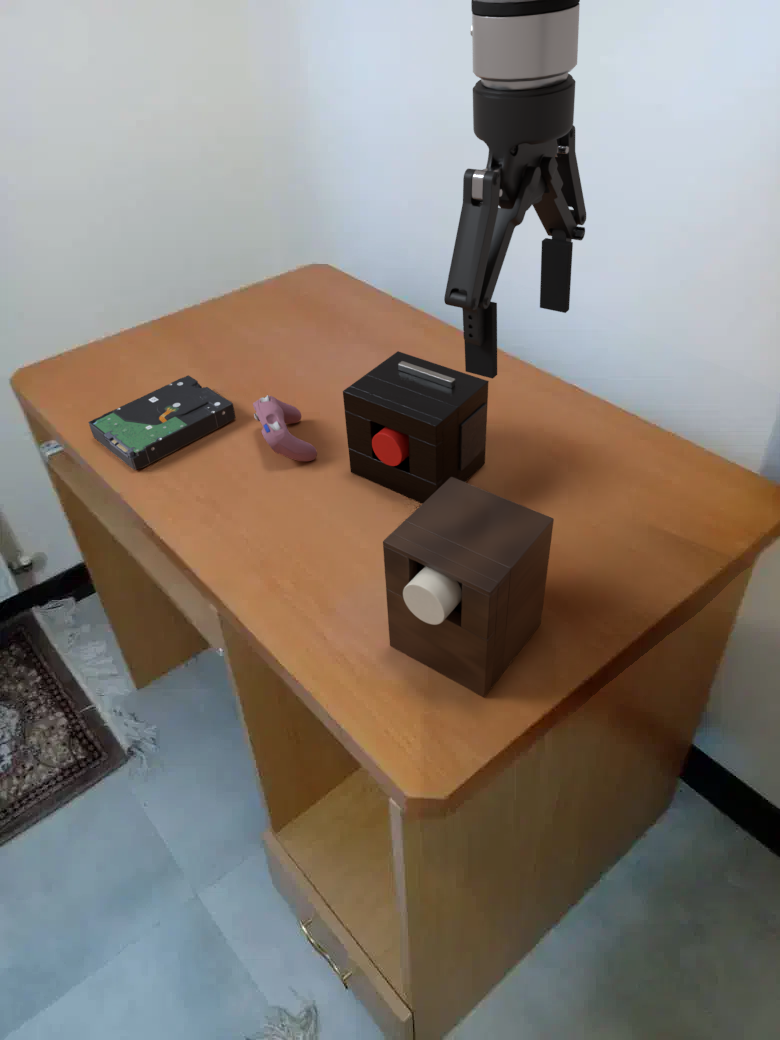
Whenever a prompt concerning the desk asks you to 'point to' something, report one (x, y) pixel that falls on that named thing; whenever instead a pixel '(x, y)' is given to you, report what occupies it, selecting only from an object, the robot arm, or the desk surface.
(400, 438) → the button
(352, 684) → the desk surface
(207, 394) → the disk drive
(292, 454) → the video game controller
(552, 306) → the robot arm
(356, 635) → the desk surface
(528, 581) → the box
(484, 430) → the dark button box
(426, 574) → the timer button
